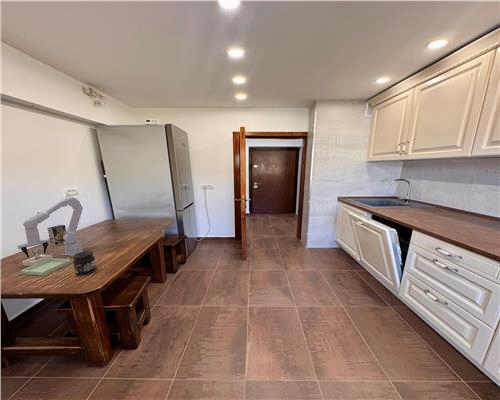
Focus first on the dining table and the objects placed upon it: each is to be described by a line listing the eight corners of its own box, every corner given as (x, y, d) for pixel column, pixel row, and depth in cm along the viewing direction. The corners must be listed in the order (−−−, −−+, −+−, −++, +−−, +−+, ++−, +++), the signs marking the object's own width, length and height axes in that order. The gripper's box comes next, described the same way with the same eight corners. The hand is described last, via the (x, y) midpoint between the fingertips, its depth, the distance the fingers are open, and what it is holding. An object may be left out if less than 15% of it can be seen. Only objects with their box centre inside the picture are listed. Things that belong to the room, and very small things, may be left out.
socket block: (52, 259, 134) (52, 255, 133) (35, 266, 124) (34, 262, 124) (41, 258, 135) (40, 254, 135) (23, 265, 125) (22, 261, 125)
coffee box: (56, 246, 156) (52, 228, 153) (50, 245, 157) (46, 227, 154) (68, 242, 164) (65, 224, 162) (63, 241, 166) (59, 224, 163)
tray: (71, 262, 129) (70, 259, 128) (43, 276, 113) (42, 272, 112) (51, 261, 131) (50, 258, 130) (21, 274, 115) (20, 270, 114)
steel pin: (44, 261, 131) (41, 249, 130) (37, 263, 127) (34, 251, 126) (39, 260, 132) (37, 248, 130) (32, 263, 128) (29, 251, 126)
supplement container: (74, 271, 118) (71, 253, 116) (95, 265, 125) (93, 248, 123) (75, 278, 111) (71, 259, 109) (97, 271, 118) (94, 253, 116)
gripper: (47, 232, 134) (51, 250, 137) (15, 238, 123) (20, 257, 125) (49, 234, 130) (52, 252, 132) (16, 240, 119) (20, 260, 121)
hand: (36, 255), depth 129 cm, fingers open, 7 cm apart
